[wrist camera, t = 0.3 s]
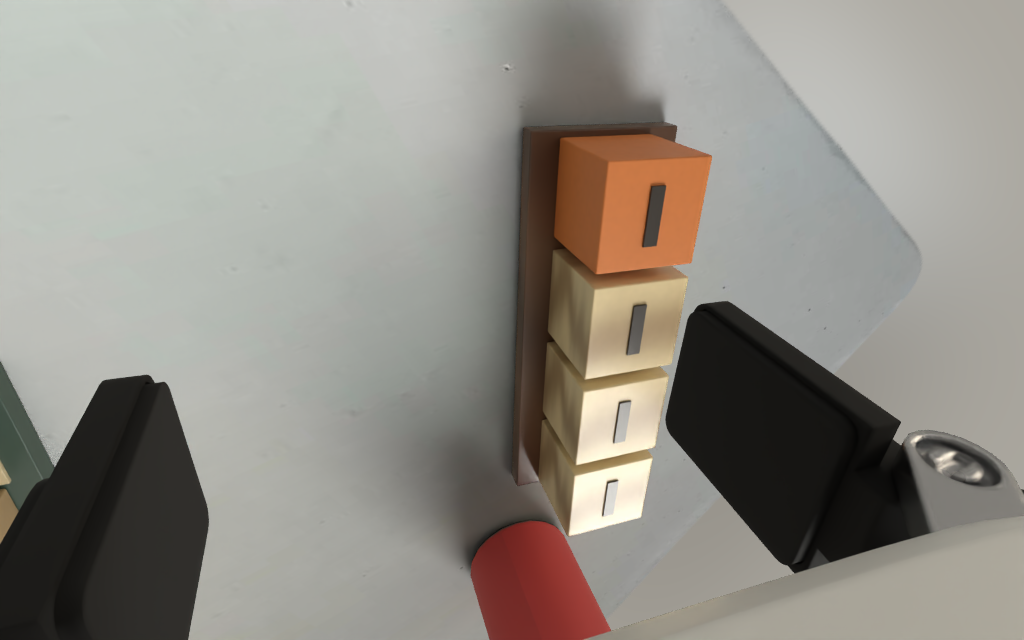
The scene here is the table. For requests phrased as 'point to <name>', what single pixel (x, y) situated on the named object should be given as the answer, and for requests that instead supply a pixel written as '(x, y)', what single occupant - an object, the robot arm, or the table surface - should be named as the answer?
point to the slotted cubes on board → (586, 354)
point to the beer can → (534, 586)
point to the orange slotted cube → (629, 201)
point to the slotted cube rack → (17, 455)
